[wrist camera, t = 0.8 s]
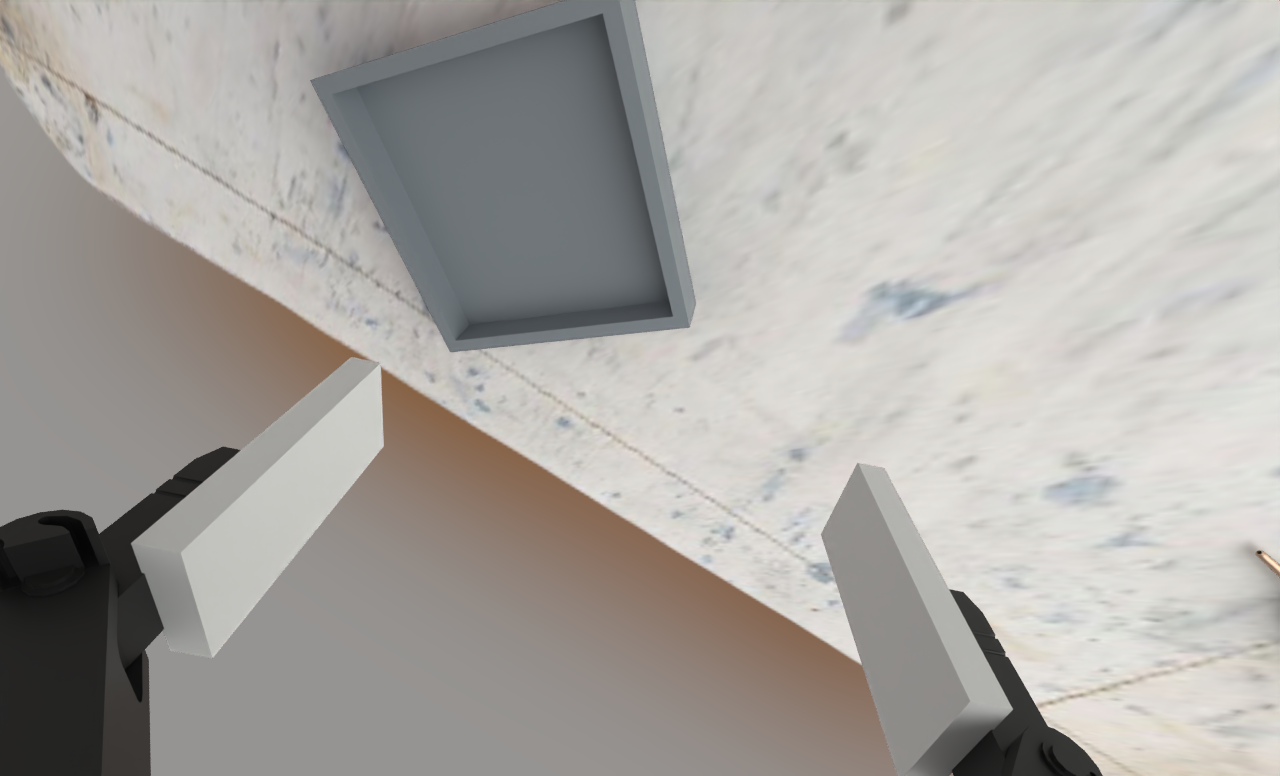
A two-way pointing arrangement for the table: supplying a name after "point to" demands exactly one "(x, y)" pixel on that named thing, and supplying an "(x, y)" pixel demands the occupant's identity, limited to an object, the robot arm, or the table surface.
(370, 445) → the robot arm
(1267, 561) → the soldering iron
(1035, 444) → the table surface
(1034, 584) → the table surface
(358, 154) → the tray
